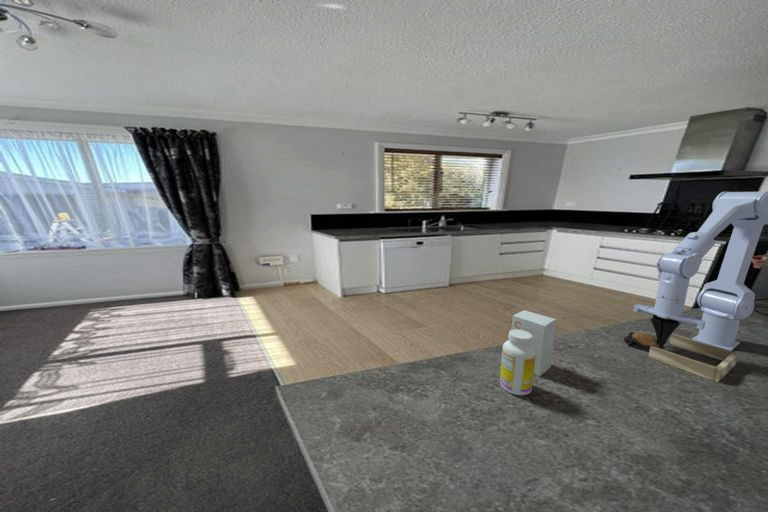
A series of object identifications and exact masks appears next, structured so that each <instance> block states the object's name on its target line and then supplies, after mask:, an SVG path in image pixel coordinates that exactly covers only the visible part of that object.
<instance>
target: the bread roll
mask: <svg viewBox="0 0 768 512" xmlns="http://www.w3.org/2000/svg"><path fill="white" fill-rule="evenodd" d="M623 341H624V343H625V344H626V345H627V347H629V348H633V349H636V350H639V351H642V352H646V353H649V351H650V347H651V346H654V347H657V348H660V349H662V346H663V345H661V344H658V343H657V337H655V336H654V335H652V334H650V333H647V332H642V331H637V332H629V333H628V334H627V336H625V337H624V338H623Z"/></svg>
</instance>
